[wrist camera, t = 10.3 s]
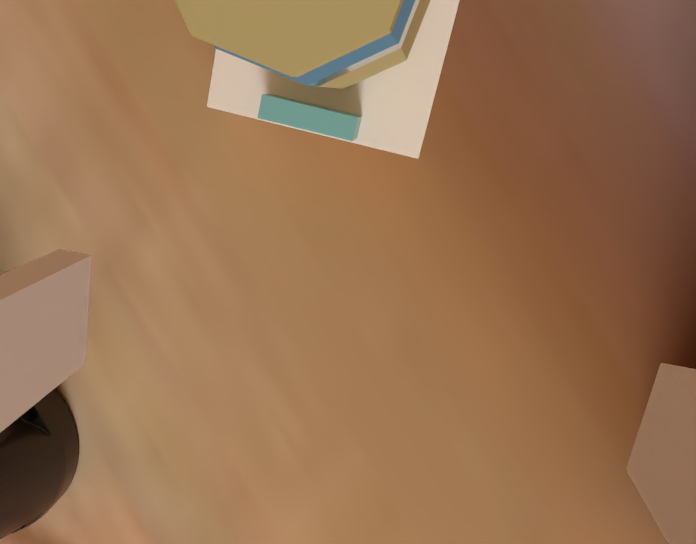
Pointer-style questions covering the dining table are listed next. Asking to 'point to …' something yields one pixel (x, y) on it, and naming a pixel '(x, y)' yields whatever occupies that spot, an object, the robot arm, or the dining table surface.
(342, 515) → the dining table surface
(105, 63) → the dining table surface
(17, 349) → the robot arm
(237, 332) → the dining table surface
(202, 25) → the jar
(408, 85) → the block
